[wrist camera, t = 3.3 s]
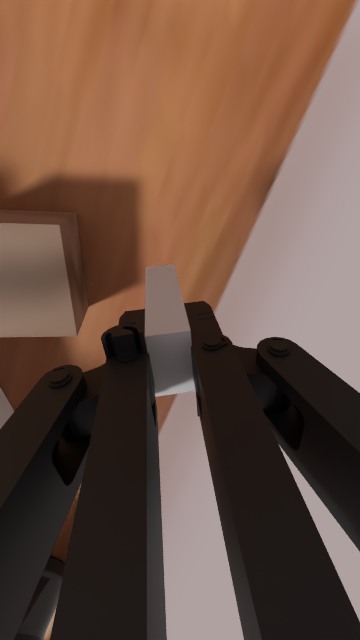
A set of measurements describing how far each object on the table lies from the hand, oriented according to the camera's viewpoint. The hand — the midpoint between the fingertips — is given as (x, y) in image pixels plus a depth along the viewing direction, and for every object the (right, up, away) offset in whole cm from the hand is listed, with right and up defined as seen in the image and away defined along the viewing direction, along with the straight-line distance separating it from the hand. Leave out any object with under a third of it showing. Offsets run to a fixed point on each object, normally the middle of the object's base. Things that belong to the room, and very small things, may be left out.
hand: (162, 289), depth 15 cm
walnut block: (-10, +3, +7) cm, 13 cm away
